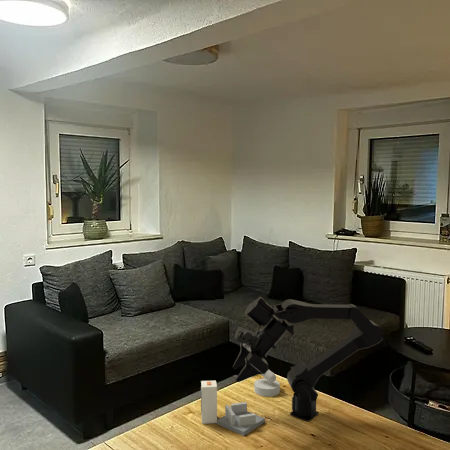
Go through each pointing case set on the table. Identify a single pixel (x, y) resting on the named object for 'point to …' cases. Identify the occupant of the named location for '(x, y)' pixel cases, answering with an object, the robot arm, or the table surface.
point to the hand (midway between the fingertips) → (235, 374)
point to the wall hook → (267, 385)
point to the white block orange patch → (209, 401)
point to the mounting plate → (243, 428)
